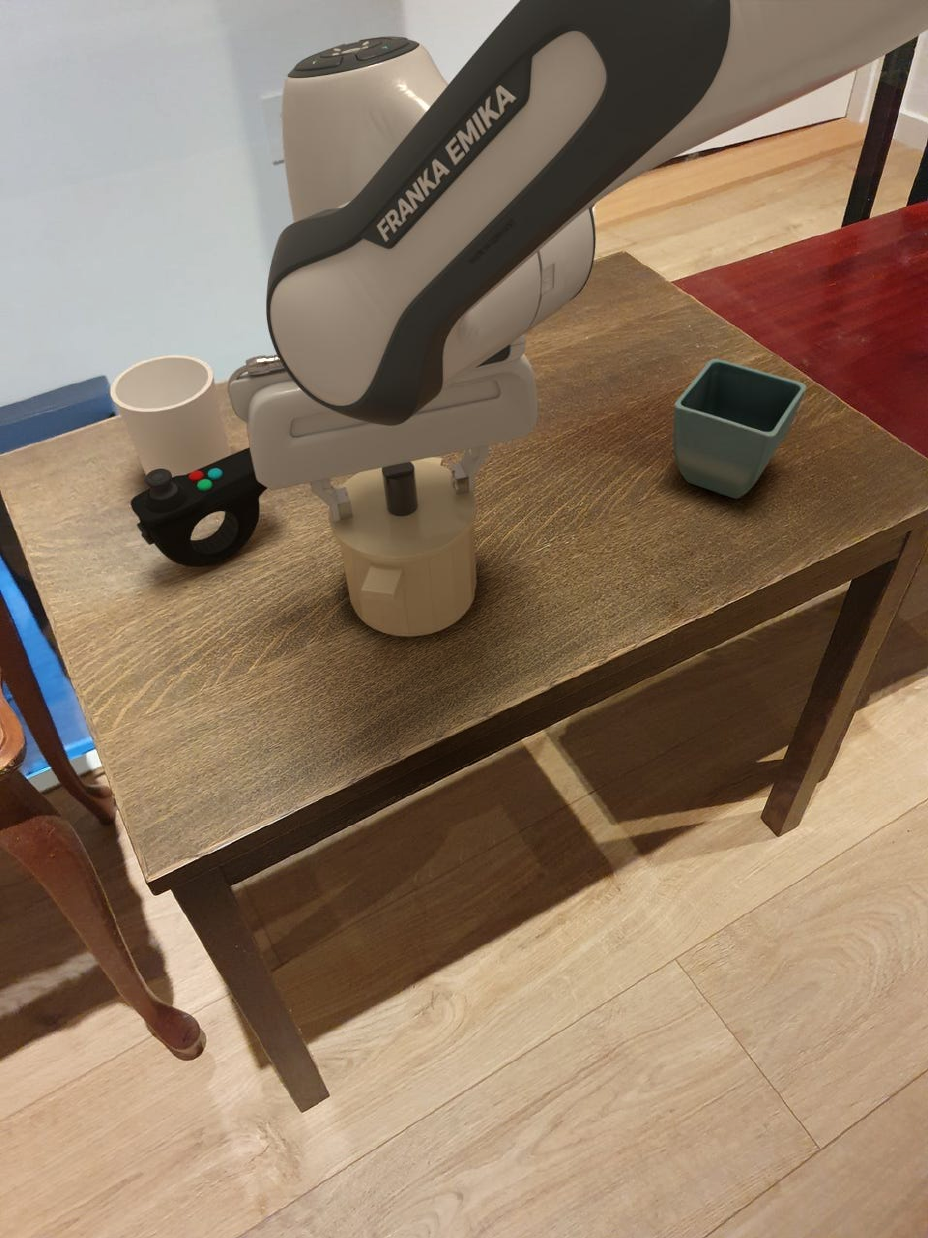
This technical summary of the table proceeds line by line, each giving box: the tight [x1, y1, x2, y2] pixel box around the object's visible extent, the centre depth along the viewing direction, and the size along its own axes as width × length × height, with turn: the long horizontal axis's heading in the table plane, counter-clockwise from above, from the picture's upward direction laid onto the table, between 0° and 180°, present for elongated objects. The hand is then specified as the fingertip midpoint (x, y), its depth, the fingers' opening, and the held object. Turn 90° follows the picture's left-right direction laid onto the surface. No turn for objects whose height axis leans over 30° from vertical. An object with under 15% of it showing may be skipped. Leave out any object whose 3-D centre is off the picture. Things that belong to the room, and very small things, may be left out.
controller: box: [130, 447, 268, 568], centre depth 74 cm, size 4×12×10 cm, turn 128°
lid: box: [327, 461, 478, 563], centre depth 66 cm, size 11×11×5 cm
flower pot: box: [672, 358, 807, 500], centre depth 79 cm, size 9×9×9 cm
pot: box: [338, 456, 477, 638], centre depth 71 cm, size 10×16×8 cm, turn 168°
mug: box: [110, 354, 232, 478], centre depth 82 cm, size 11×9×10 cm
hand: (403, 501), depth 67 cm, fingers open, 8 cm apart
